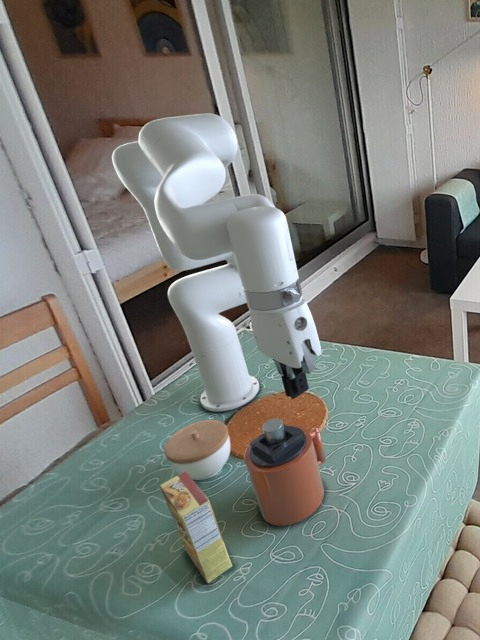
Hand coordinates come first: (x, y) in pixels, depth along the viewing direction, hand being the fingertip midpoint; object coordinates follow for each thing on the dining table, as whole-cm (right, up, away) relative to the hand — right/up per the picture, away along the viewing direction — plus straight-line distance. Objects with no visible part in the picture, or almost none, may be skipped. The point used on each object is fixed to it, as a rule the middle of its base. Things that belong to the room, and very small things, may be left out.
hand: (297, 392), depth 81 cm
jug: (-5, -22, +12) cm, 26 cm away
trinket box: (-25, -19, +19) cm, 37 cm away
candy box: (-15, -28, +1) cm, 31 cm away
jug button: (-6, -9, +5) cm, 11 cm away
